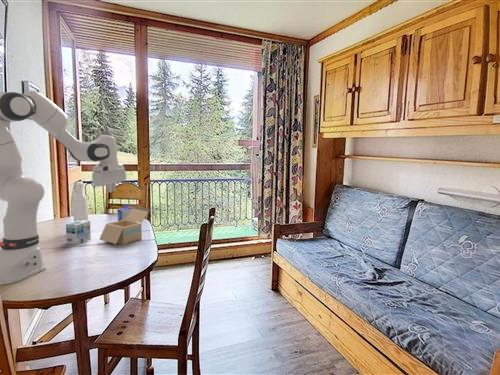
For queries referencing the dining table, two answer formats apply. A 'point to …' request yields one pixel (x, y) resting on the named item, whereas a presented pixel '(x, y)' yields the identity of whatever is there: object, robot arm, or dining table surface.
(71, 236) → the light bulb box
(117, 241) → the carton
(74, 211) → the bottle
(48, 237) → the dining table surface
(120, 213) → the ink cartridge box
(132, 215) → the flap
